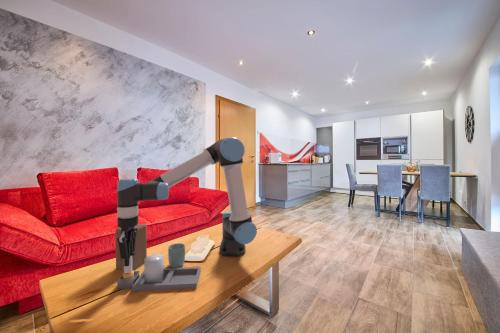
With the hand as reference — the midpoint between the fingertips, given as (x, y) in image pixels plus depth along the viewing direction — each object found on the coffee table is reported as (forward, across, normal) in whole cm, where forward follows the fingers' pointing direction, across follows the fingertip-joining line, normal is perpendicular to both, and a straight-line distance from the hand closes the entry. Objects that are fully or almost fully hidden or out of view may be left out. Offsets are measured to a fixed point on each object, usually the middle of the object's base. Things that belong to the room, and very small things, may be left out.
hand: (128, 272), depth 88 cm
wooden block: (+6, -17, -6) cm, 19 cm away
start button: (+4, 0, 0) cm, 4 cm away
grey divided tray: (+6, -2, +16) cm, 17 cm away
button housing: (+6, 0, 0) cm, 6 cm away
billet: (+5, -2, +10) cm, 11 cm away
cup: (+6, -15, +16) cm, 23 cm away
